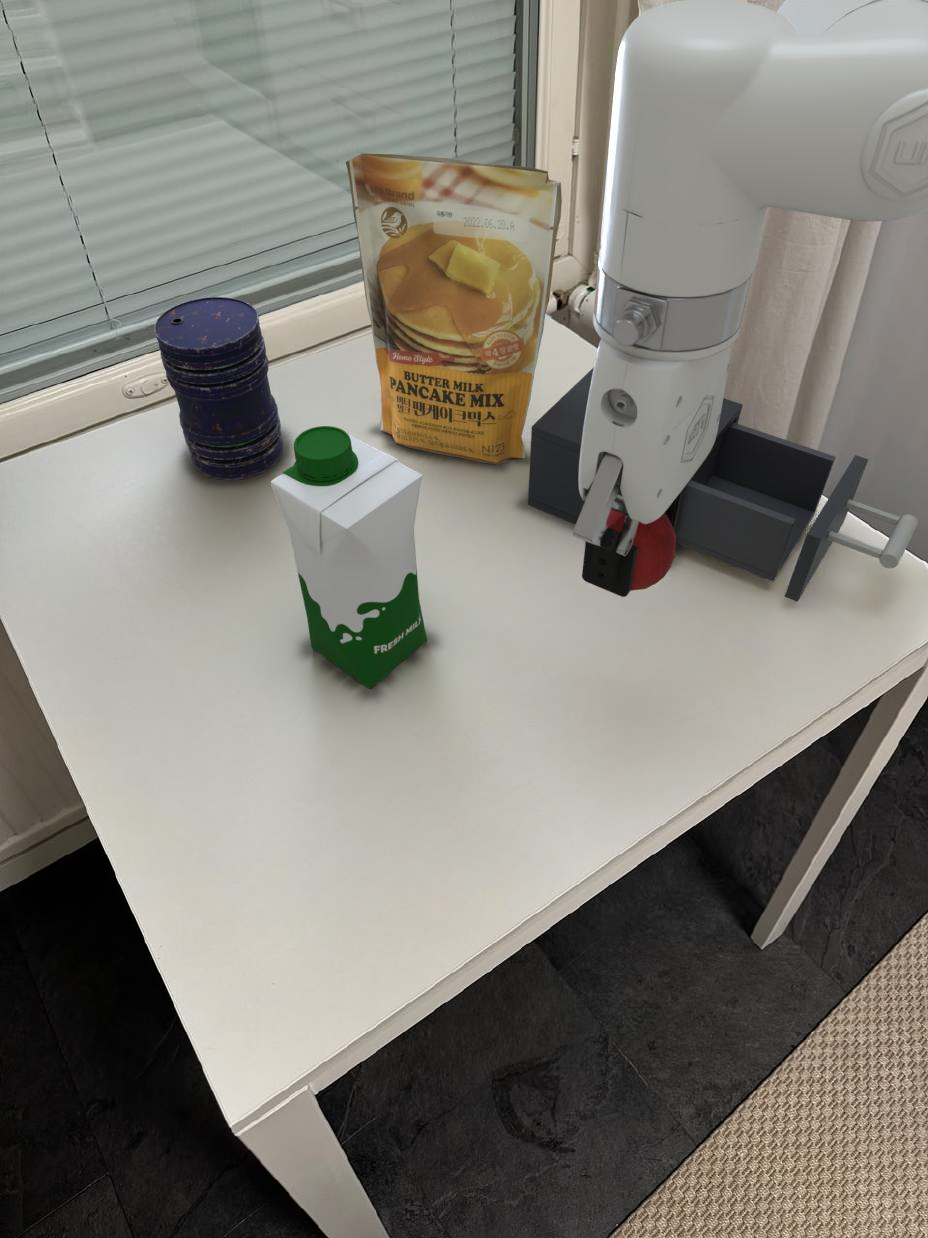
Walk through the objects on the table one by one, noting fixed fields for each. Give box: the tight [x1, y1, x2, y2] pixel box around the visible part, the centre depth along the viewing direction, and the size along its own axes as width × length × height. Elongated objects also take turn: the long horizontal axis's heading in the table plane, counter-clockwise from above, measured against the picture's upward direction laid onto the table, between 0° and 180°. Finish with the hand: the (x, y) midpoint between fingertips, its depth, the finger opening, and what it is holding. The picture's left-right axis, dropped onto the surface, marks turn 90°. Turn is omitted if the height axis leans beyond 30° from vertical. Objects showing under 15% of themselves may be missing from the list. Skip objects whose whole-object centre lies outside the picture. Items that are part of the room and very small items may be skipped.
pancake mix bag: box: [344, 152, 563, 465], centre depth 86 cm, size 7×19×28 cm, turn 71°
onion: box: [607, 509, 677, 592], centre depth 58 cm, size 6×6×8 cm
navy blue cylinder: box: [153, 296, 285, 481], centre depth 89 cm, size 10×10×15 cm
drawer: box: [675, 422, 919, 603], centre depth 80 cm, size 20×13×7 cm, turn 56°
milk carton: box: [270, 425, 428, 690], centre depth 69 cm, size 9×9×20 cm
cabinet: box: [527, 366, 743, 545], centre depth 86 cm, size 15×14×9 cm
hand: (629, 554), depth 58 cm, fingers closed on onion, 5 cm apart
